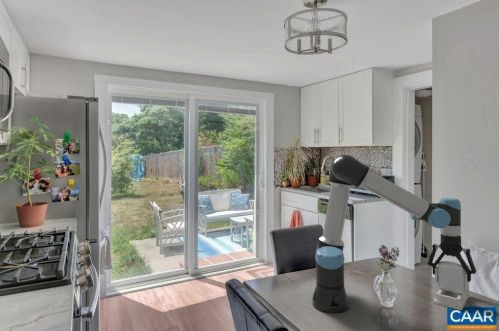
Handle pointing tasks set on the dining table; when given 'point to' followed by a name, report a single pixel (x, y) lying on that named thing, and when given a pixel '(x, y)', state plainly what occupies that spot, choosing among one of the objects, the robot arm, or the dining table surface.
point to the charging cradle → (452, 298)
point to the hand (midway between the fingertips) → (451, 285)
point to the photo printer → (451, 277)
